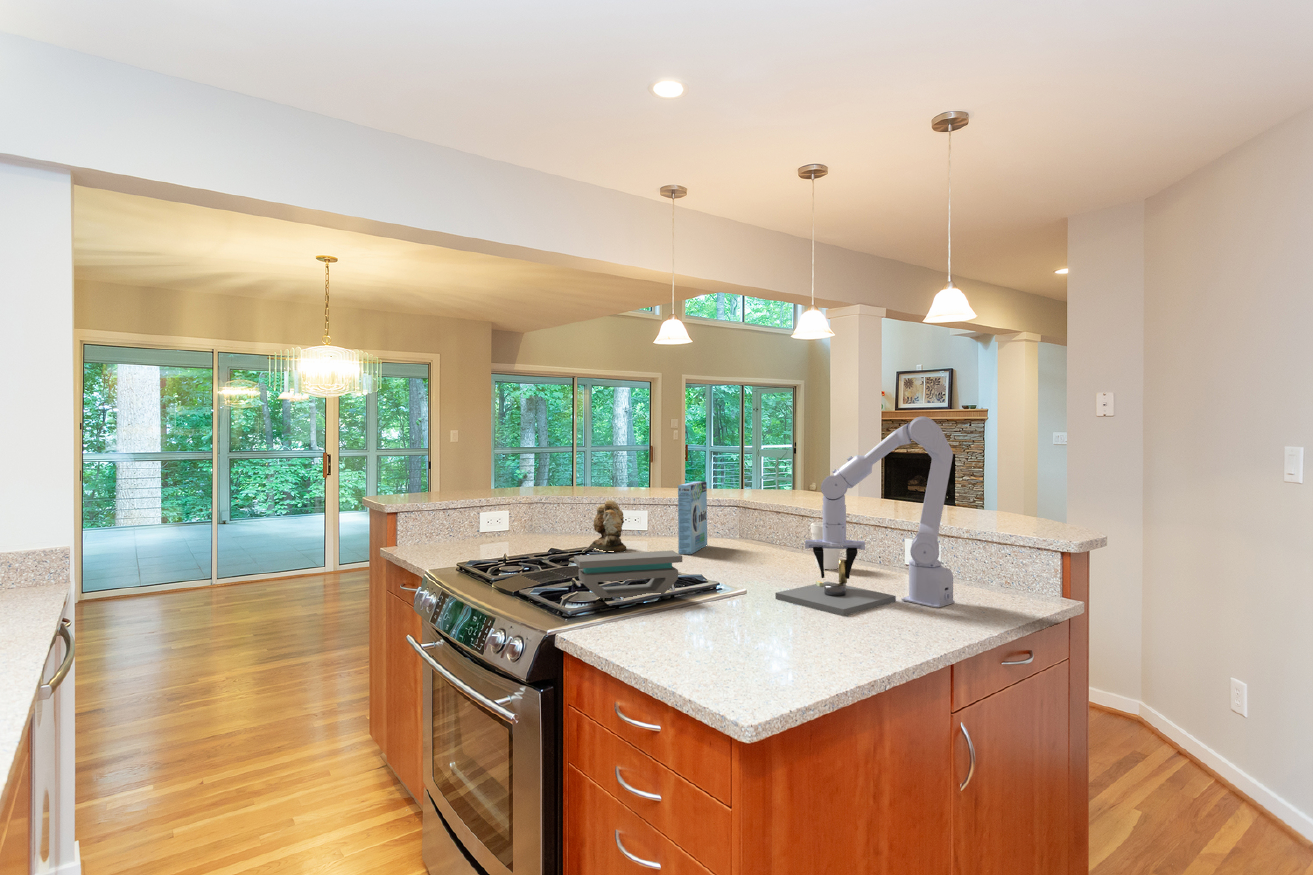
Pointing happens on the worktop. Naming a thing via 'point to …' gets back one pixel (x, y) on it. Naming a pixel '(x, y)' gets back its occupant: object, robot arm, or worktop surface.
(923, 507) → the robot arm
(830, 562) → the foam cup
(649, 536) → the worktop surface
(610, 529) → the brown stone sculpture
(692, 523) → the gum box
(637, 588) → the sharpening stone
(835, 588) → the crank
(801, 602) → the dial plate
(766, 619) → the worktop surface
